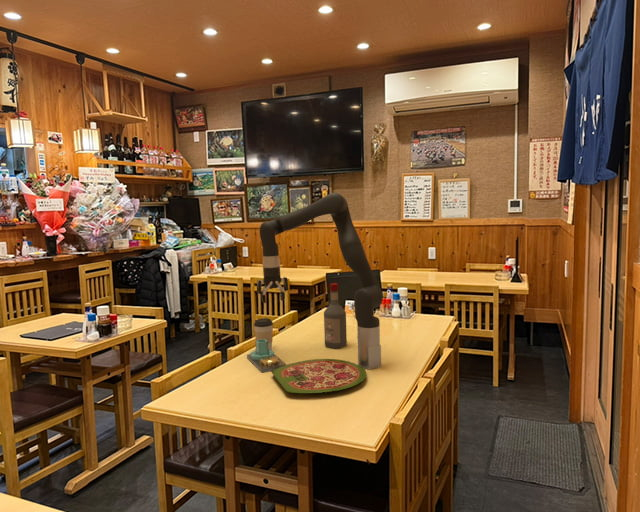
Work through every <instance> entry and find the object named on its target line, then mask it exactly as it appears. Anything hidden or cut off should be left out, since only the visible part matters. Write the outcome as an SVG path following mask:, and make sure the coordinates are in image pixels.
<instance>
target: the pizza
mask: <svg viewBox="0 0 640 512" xmlns="http://www.w3.org/2000/svg"><path fill="white" fill-rule="evenodd" d="M286 364H287V363H286ZM365 369H366V368H362V367H361V366H359V365H358V363H355V362H351V361H349V360H343V359H335V358H315V359H307V360H301V361H296V362H292V363H288V364H287V365H285V366H282V367H279V368H277V369H274V370H273V371H271V374H272V376H273V377H274V378H275V379H276V380H277V382H278V383H279V384H280V386H281V387H282V388H283V389H284V390H285V392H286V393H287V392H288V393H290V394H320V393H321V394H322V393H323V392H325V393H332V391H334V392H337V391H342V390H346V389H350V388H353V387H355V386H357V385H359V384H360V383H362V382H363V381H364V380H365V379H366V377H367V371H366V370H365Z"/></svg>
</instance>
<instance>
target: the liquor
mask: <svg viewBox="0 0 640 512" xmlns="http://www.w3.org/2000/svg"><path fill="white" fill-rule="evenodd" d="M329 290H330V303H329V305H328V306H327V307H326V308H325V310H324V311H323V322H324V323H323V327H324V328H323V330H324V331H323V334H324V345H325V347H326V348H327V349H334V350H340V349H342V348H344V347H347V345H348V343H347V342H348V341H347V338H348V337H347V335H348V334H347V312H346V310H345V309H344V308H343V307H342V306H341V305H340V302H339V284H338V283H336V282H335V283H333V282H332V283H330V284H329Z"/></svg>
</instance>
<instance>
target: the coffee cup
mask: <svg viewBox="0 0 640 512" xmlns="http://www.w3.org/2000/svg"><path fill="white" fill-rule="evenodd" d="M273 322H274V321H272V320H271V319H270V318H267V317H266V318H265V317H264V318H258V319H256V320H255V322H254V323H253V327H254V335H255V337H254V338H255V340H261V339H266V340H267V341H268V350H272V351H273V340H274V339H273V335H274V334H273V333H274V329H273V328H274V323H273Z"/></svg>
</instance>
